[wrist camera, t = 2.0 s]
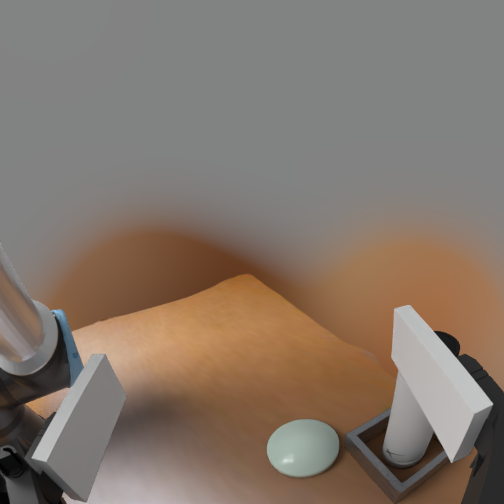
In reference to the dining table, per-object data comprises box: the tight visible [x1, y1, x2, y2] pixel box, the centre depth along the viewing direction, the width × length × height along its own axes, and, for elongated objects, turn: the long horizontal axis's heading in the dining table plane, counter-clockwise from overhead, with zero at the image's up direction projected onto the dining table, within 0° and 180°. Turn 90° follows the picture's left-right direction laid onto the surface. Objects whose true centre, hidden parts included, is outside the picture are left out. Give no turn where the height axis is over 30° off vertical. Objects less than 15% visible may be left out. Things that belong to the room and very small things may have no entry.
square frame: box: [345, 407, 450, 504], centre depth 32 cm, size 12×12×4 cm
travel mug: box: [382, 331, 460, 468], centre depth 30 cm, size 6×7×20 cm
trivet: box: [267, 419, 339, 478], centre depth 38 cm, size 10×10×1 cm
